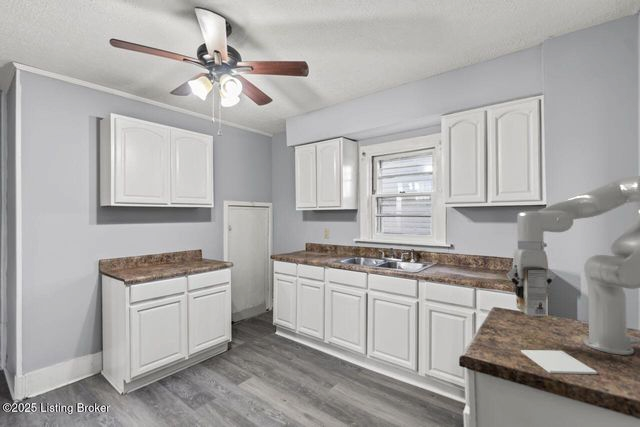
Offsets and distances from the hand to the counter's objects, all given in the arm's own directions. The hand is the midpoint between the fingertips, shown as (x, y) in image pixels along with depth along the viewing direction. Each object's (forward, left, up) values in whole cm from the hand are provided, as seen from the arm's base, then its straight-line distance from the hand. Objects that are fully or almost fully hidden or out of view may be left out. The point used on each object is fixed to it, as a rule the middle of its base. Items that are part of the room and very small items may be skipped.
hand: (530, 296), depth 107 cm
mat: (0, +12, -17) cm, 21 cm away
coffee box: (0, 0, -5) cm, 5 cm away
